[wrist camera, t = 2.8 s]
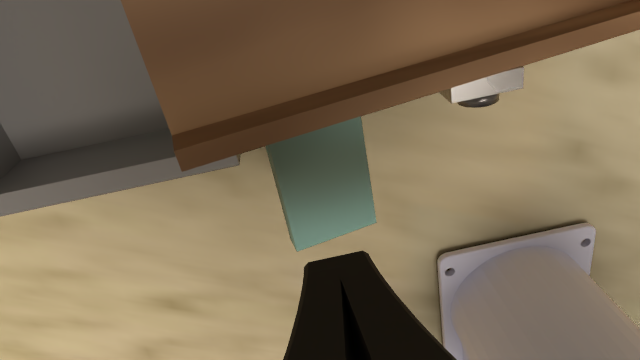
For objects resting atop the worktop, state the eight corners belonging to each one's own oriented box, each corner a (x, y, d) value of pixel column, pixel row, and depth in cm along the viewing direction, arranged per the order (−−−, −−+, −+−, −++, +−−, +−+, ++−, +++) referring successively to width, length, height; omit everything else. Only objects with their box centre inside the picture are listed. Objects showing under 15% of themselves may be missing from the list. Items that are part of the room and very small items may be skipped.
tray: (243, 129, 18) (239, 164, 15) (15, 177, 18) (-31, 223, 15) (166, -134, 14) (141, -152, 11) (-133, -71, 14) (-238, -73, 11)
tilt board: (669, 102, 19) (741, 122, 17) (222, 263, 15) (235, 319, 13) (730, -185, 15) (844, -214, 12) (100, -60, 11) (86, -66, 8)
